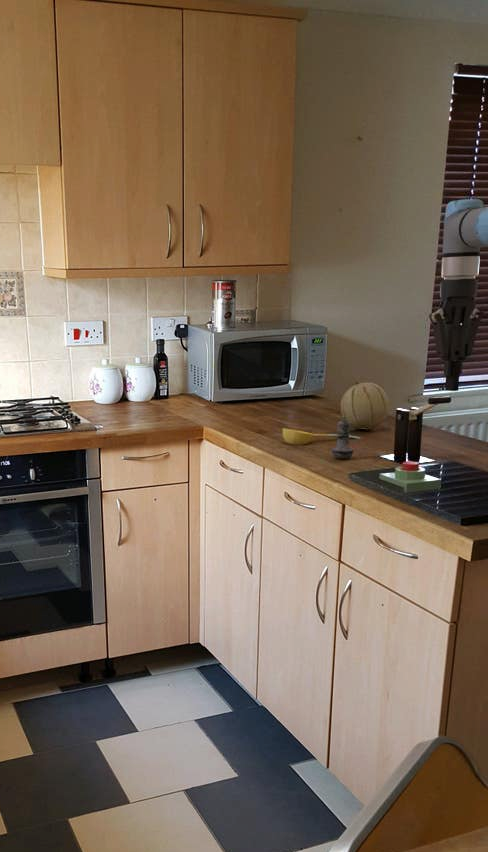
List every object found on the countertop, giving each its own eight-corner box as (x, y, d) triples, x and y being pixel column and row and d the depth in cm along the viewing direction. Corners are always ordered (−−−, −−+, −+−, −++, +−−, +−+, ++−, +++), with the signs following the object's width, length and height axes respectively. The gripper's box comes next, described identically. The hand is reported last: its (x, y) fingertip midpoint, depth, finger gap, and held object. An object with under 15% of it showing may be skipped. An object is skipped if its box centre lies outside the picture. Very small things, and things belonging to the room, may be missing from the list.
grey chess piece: (330, 464, 225) (332, 418, 221) (330, 460, 230) (332, 414, 226) (354, 465, 224) (356, 418, 220) (353, 460, 229) (355, 414, 225)
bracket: (435, 466, 220) (439, 410, 216) (404, 469, 217) (408, 413, 213) (407, 457, 231) (411, 405, 226) (378, 460, 228) (381, 407, 224)
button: (421, 471, 198) (422, 463, 197) (408, 472, 197) (408, 465, 196) (412, 468, 201) (412, 460, 200) (398, 469, 200) (399, 462, 199)
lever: (452, 403, 208) (450, 393, 208) (432, 405, 206) (430, 395, 206) (416, 421, 222) (414, 412, 222) (397, 423, 221) (396, 414, 221)
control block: (440, 489, 196) (441, 471, 195) (406, 493, 194) (407, 475, 192) (412, 479, 206) (413, 462, 205) (378, 483, 204) (379, 466, 202)
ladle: (274, 442, 252) (278, 422, 251) (354, 456, 261) (359, 436, 259) (287, 446, 244) (291, 425, 243) (369, 460, 252) (374, 440, 251)
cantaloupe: (389, 433, 266) (391, 383, 261) (340, 433, 269) (341, 384, 264) (386, 425, 280) (388, 378, 275) (339, 425, 283) (341, 378, 278)
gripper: (472, 278, 193) (464, 387, 200) (422, 279, 188) (416, 390, 196) (496, 277, 186) (486, 389, 193) (445, 278, 182) (437, 393, 189)
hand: (451, 390), depth 194 cm, fingers closed
